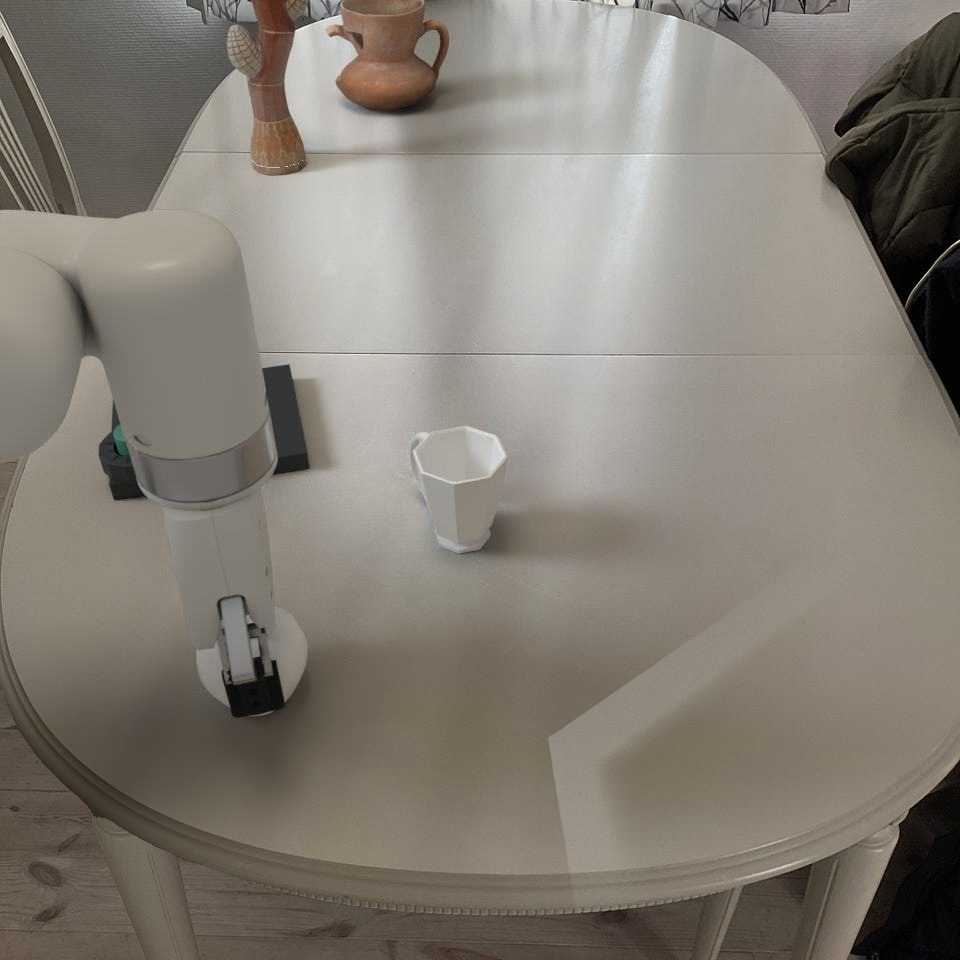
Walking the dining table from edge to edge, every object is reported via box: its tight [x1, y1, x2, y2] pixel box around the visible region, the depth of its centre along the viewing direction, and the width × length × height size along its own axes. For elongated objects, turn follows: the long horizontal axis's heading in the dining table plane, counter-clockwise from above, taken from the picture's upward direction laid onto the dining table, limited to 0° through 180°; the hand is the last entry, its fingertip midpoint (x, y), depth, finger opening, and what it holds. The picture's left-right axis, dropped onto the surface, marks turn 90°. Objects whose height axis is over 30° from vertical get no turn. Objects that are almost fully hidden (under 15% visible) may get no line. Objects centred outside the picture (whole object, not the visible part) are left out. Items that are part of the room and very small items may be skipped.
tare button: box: [113, 424, 130, 458], centre depth 83 cm, size 3×3×2 cm
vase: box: [226, 0, 309, 176], centre depth 127 cm, size 10×7×30 cm
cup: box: [407, 425, 509, 555], centre depth 78 cm, size 7×10×8 cm
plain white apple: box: [195, 605, 308, 717], centre depth 65 cm, size 7×7×8 cm
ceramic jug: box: [325, 0, 450, 110], centre depth 150 cm, size 18×14×14 cm
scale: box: [98, 363, 310, 501], centre depth 88 cm, size 16×14×4 cm
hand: (253, 660), depth 66 cm, fingers closed on plain white apple, 7 cm apart
